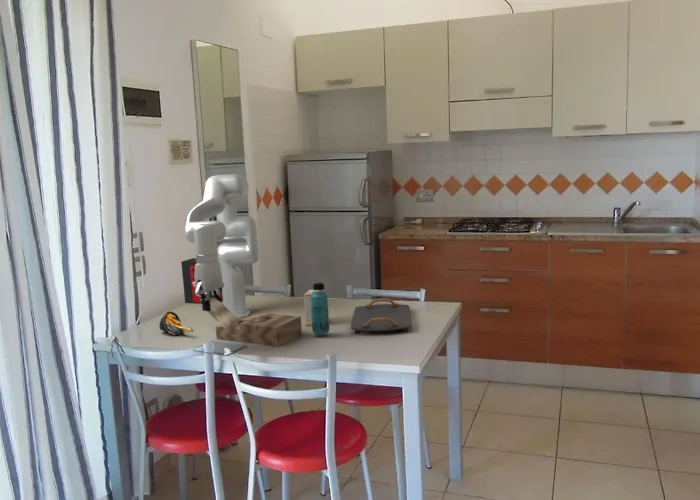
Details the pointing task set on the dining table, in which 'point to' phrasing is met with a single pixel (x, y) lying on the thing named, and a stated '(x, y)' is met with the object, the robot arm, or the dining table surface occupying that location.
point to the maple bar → (222, 314)
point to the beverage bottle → (319, 310)
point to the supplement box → (308, 306)
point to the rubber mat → (221, 345)
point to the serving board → (381, 317)
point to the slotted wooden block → (263, 329)
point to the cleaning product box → (192, 282)
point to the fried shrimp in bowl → (172, 324)
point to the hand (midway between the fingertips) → (211, 308)
